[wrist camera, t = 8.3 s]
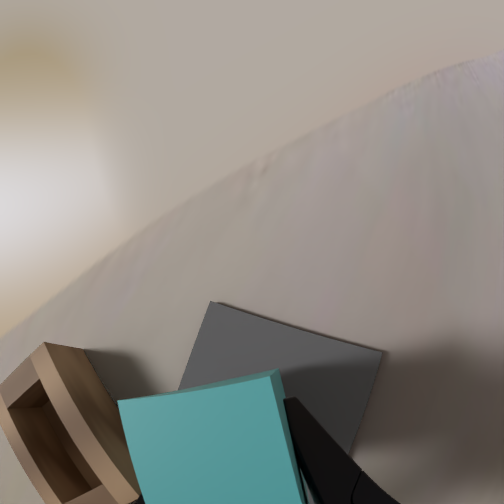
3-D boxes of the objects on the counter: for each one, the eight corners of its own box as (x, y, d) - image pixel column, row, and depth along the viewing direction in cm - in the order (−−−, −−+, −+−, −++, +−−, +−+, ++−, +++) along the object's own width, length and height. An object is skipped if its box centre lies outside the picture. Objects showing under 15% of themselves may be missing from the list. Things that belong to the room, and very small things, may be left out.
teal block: (301, 459, 13) (328, 603, 2) (251, 470, 13) (197, 613, 3) (278, 368, 15) (269, 376, 4) (228, 379, 15) (117, 400, 4)
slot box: (167, 475, 14) (140, 497, 11) (97, 510, 13) (65, 529, 10) (82, 348, 18) (43, 341, 14) (26, 397, 16) (-12, 397, 13)
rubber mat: (379, 353, 16) (382, 352, 15) (320, 508, 13) (321, 511, 13) (212, 302, 18) (210, 300, 17) (157, 455, 15) (154, 457, 14)
